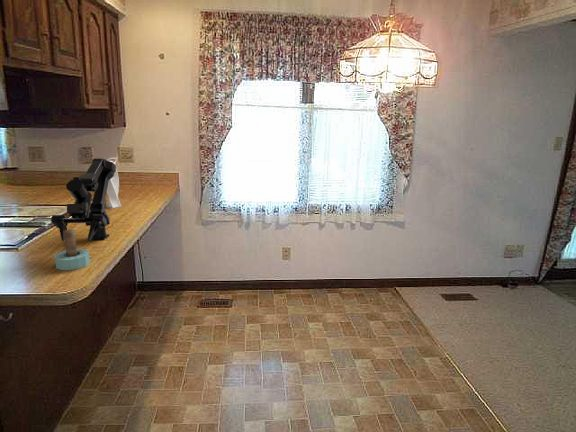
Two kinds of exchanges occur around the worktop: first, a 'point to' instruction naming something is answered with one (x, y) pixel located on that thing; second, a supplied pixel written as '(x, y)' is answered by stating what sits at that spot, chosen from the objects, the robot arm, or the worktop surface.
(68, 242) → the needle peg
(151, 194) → the worktop surface
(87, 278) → the worktop surface
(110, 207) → the skyscraper
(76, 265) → the bead
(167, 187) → the worktop surface
